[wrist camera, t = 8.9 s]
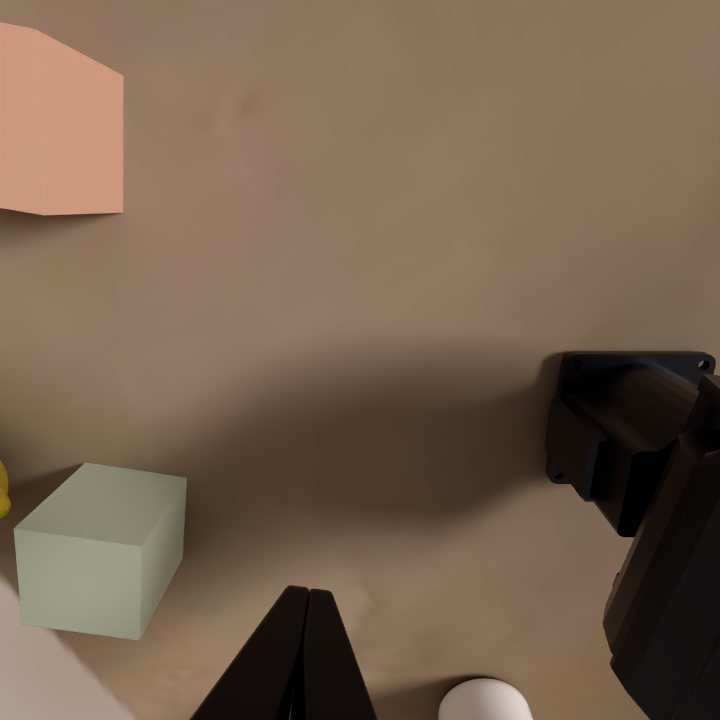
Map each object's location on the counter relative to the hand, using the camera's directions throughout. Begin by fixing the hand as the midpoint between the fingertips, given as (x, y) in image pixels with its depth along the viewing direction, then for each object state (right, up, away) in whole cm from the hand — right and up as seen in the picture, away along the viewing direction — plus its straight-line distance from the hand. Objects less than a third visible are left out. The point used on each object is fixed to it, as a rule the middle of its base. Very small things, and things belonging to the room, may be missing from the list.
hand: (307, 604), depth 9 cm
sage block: (-10, -3, +15) cm, 19 cm away
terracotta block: (-11, +13, +10) cm, 20 cm away
